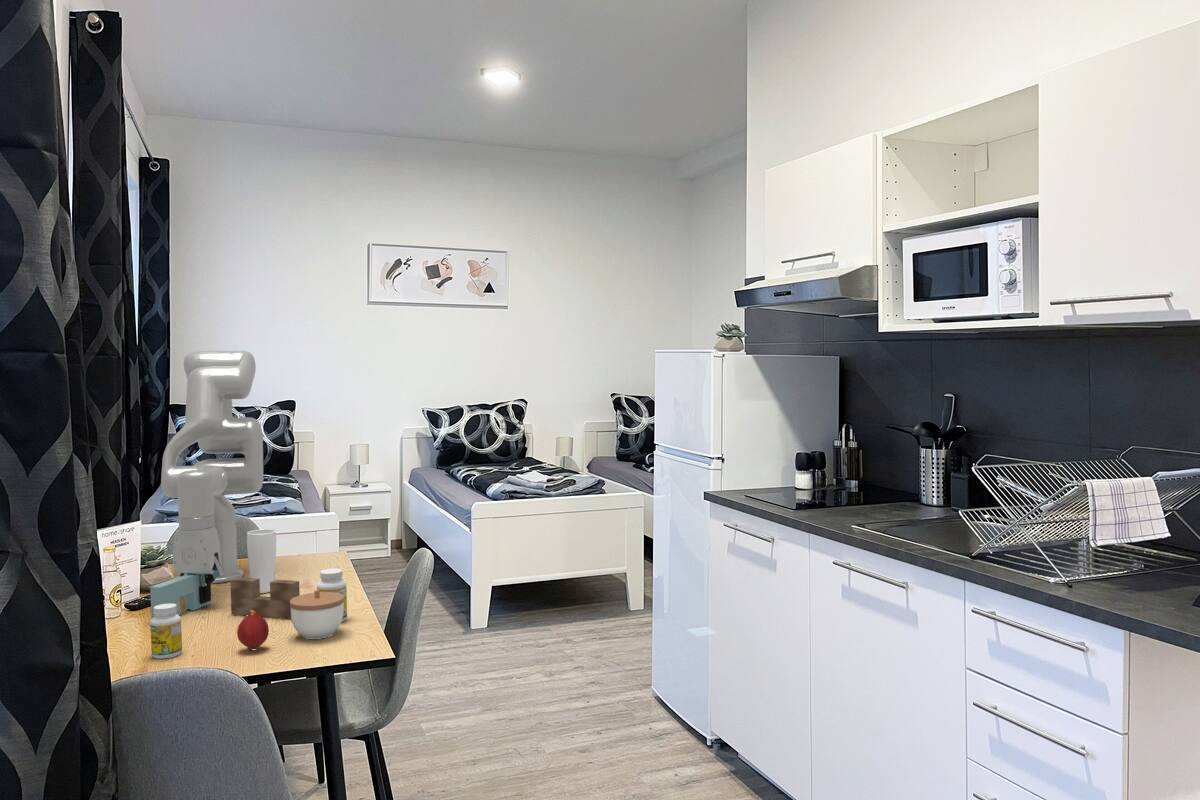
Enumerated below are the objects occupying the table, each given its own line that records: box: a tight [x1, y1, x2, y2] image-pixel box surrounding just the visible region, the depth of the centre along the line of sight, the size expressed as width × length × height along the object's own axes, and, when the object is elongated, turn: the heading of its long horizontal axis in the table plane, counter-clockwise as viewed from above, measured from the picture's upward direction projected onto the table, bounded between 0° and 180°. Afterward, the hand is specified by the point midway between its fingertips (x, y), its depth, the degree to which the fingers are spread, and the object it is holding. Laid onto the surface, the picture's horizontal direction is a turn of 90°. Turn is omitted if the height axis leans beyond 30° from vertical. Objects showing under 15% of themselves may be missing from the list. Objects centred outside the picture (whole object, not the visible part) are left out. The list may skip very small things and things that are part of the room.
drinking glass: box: [246, 528, 277, 594], centre depth 218 cm, size 7×7×15 cm
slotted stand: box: [229, 576, 301, 620], centre depth 197 cm, size 16×2×8 cm, turn 75°
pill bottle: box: [316, 568, 348, 623], centre depth 193 cm, size 6×6×11 cm
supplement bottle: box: [149, 604, 183, 660], centre depth 171 cm, size 5×5×10 cm
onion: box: [236, 610, 270, 650], centre depth 173 cm, size 6×6×8 cm
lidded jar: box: [290, 589, 344, 640], centre depth 182 cm, size 11×11×9 cm
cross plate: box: [149, 574, 213, 621], centre depth 200 cm, size 16×2×8 cm, turn 165°
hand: (199, 601), depth 205 cm, fingers closed on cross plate, 2 cm apart
